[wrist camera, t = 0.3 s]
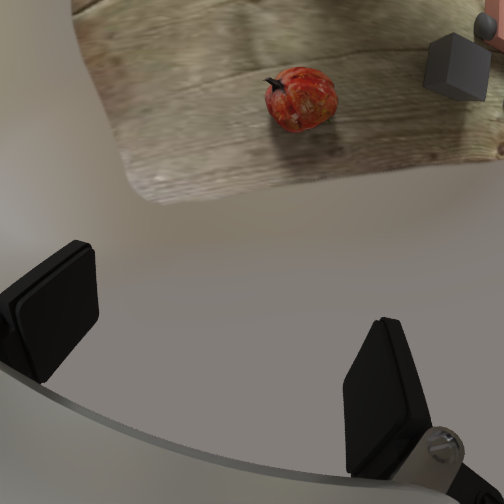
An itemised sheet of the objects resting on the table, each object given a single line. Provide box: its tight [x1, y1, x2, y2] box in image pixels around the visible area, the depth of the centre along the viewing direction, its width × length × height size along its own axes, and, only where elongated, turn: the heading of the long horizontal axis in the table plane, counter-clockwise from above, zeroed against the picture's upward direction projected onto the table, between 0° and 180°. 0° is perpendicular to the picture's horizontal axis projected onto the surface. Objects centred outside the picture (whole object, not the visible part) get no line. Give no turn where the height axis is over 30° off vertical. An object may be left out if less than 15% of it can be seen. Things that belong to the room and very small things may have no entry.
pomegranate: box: [262, 67, 338, 133], centre depth 31 cm, size 7×7×10 cm
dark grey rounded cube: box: [423, 33, 492, 101], centre depth 26 cm, size 6×5×7 cm
